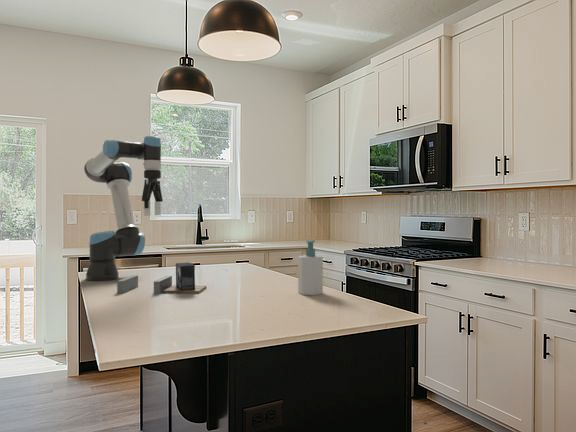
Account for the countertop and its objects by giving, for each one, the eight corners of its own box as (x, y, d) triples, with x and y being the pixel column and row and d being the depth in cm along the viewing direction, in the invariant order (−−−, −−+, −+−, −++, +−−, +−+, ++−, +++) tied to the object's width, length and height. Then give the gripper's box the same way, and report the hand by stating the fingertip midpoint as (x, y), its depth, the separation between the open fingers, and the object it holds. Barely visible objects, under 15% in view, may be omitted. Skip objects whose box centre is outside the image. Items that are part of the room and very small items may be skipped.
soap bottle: (295, 294, 190) (296, 241, 189) (300, 290, 199) (300, 239, 198) (320, 295, 187) (321, 241, 187) (324, 291, 196) (324, 239, 196)
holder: (132, 286, 208) (132, 275, 208) (171, 286, 207) (171, 275, 207) (117, 293, 192) (117, 281, 192) (159, 293, 191) (159, 281, 191)
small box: (174, 286, 202) (174, 262, 201) (189, 285, 204) (189, 262, 204) (180, 290, 192) (180, 265, 192) (195, 289, 195) (195, 264, 195)
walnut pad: (173, 287, 205) (173, 285, 205) (206, 288, 204) (206, 285, 204) (163, 293, 192) (163, 290, 192) (198, 293, 191) (198, 291, 191)
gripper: (154, 171, 228) (154, 215, 229) (133, 167, 203) (134, 215, 204) (169, 171, 228) (169, 215, 228) (150, 167, 203) (150, 216, 203)
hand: (152, 215), depth 216 cm, fingers open, 13 cm apart
